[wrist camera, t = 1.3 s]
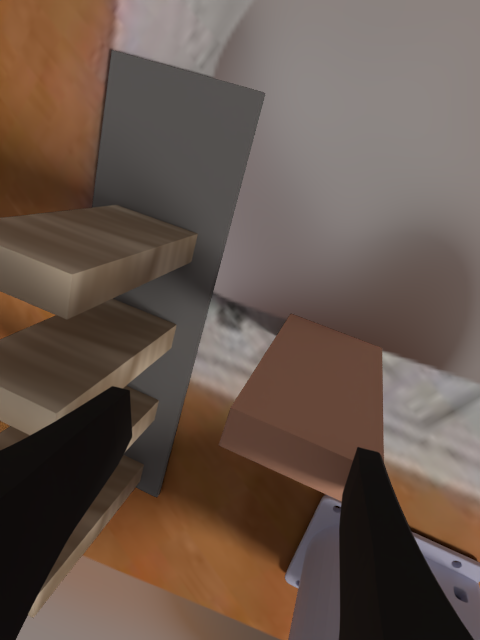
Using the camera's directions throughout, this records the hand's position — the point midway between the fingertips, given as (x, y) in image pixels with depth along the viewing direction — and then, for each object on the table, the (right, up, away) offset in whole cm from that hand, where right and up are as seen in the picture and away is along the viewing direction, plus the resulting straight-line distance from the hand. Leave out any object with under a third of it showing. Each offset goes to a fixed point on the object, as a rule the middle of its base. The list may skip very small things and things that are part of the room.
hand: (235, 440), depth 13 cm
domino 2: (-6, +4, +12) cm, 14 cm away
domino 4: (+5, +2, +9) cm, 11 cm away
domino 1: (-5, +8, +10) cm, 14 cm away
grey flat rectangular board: (-6, +4, +12) cm, 14 cm away
